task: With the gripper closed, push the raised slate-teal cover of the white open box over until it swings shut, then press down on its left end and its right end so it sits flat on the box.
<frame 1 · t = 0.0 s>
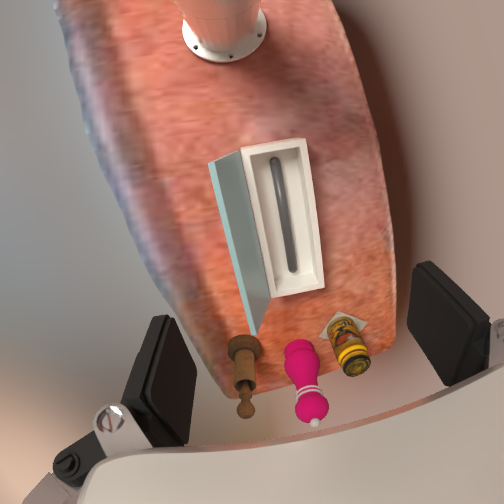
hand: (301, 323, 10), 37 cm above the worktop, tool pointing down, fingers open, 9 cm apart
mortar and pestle: (244, 345, 59), on the worktop
white open box: (283, 214, 47), on the worktop
condiment: (343, 328, 58), on the worktop
pepper mill: (298, 349, 60), on the worktop
duct cover: (245, 244, 39), point 9 cm above the worktop, hinge at 108.0°
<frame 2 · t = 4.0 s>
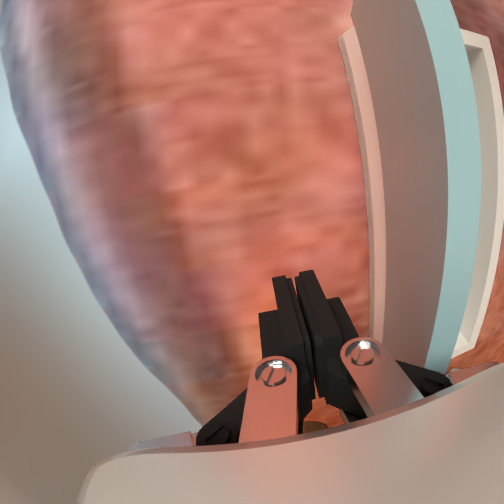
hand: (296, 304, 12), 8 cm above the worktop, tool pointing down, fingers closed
white open box: (420, 204, 18), on the worktop
duct cover: (410, 292, 10), point 9 cm above the worktop, hinge at 107.2°, touching gripper
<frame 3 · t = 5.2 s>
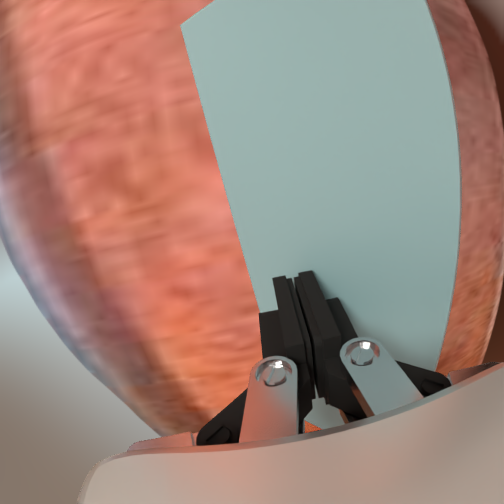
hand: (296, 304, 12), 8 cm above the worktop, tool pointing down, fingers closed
duct cover: (338, 294, 11), point 9 cm above the worktop, hinge at 45.4°, touching gripper
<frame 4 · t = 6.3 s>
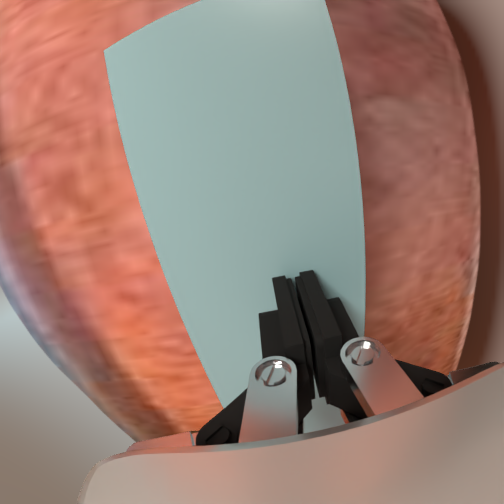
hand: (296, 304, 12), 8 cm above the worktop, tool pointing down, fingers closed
duct cover: (259, 290, 13), point 7 cm above the worktop, hinge at 20.9°, touching gripper
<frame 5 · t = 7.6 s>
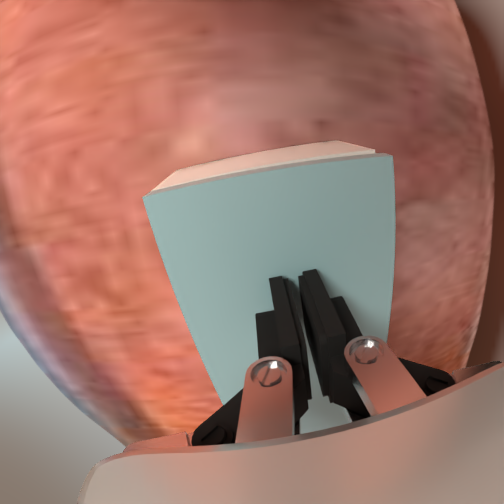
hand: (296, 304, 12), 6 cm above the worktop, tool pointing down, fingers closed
white open box: (288, 326, 20), on the worktop
duct cover: (300, 391, 15), point 6 cm above the worktop, hinge at 5.3°, touching gripper
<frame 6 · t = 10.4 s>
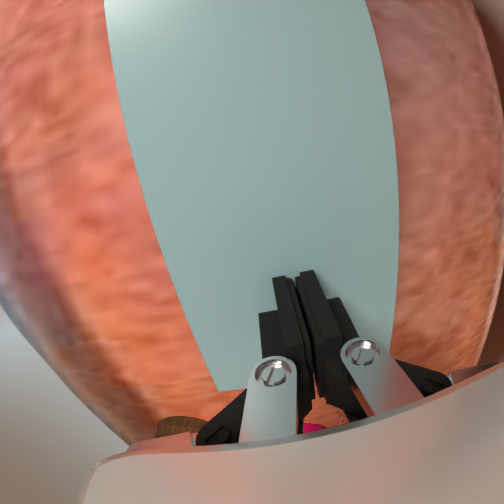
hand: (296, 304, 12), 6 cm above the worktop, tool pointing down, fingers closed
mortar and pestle: (189, 430, 26), on the worktop
duct cover: (261, 118, 9), point 6 cm above the worktop, hinge at 1.1°, touching gripper
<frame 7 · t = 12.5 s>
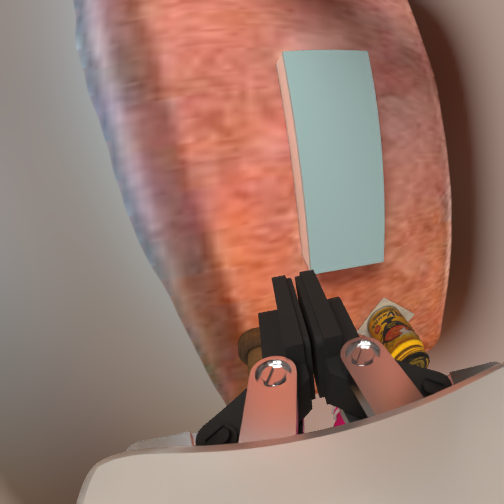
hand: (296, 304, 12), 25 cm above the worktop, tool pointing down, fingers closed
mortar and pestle: (259, 342, 44), on the worktop
white open box: (327, 157, 33), on the worktop
condiment: (385, 321, 44), on the worktop
duct cover: (342, 162, 28), point 6 cm above the worktop, hinge at 0.4°
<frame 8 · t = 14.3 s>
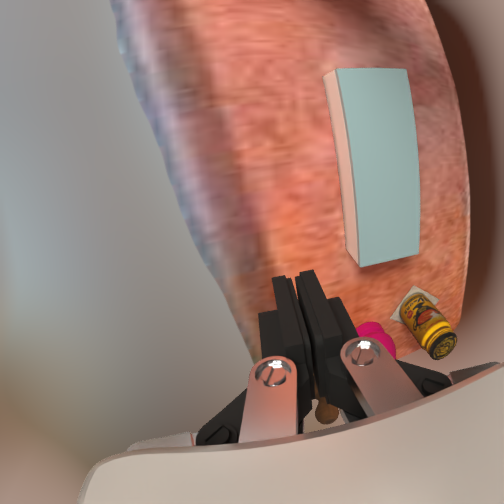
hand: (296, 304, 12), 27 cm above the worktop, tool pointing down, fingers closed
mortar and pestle: (305, 331, 47), on the worktop
white open box: (368, 161, 35), on the worktop
condiment: (414, 307, 46), on the worktop
pepper mill: (365, 334, 48), on the worktop
duct cover: (386, 168, 30), point 6 cm above the worktop, hinge at 0.4°
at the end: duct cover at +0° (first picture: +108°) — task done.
